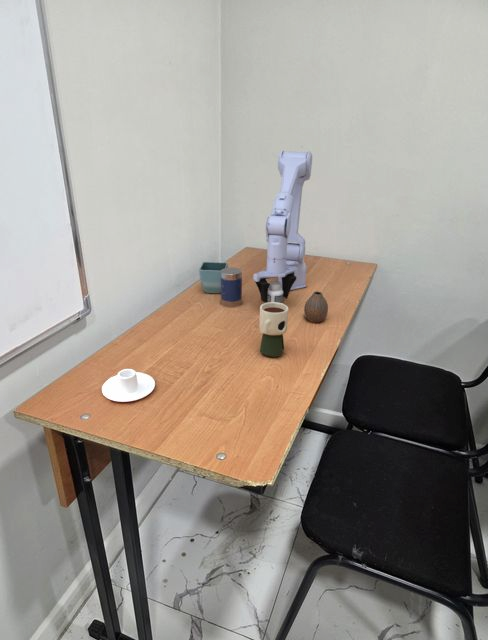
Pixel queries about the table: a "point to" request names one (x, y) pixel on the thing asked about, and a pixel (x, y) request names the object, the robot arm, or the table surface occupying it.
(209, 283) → the flower pot
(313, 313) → the vase
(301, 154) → the robot arm
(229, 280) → the tin can
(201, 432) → the table surface
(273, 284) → the pill bottle
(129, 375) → the candle holder
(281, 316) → the character mug
